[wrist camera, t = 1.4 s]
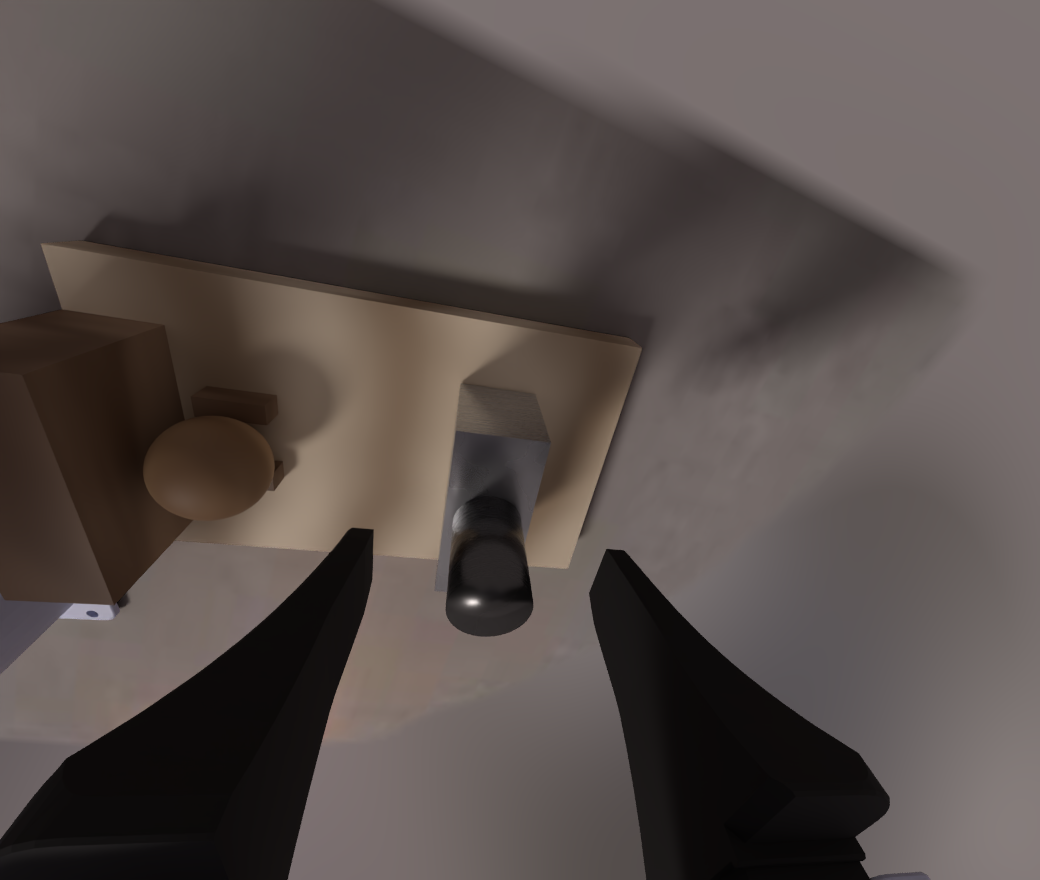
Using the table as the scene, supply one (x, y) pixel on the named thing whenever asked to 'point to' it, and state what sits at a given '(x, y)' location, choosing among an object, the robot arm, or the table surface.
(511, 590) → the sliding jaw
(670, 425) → the table surface
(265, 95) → the table surface
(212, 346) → the base
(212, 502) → the walnut
